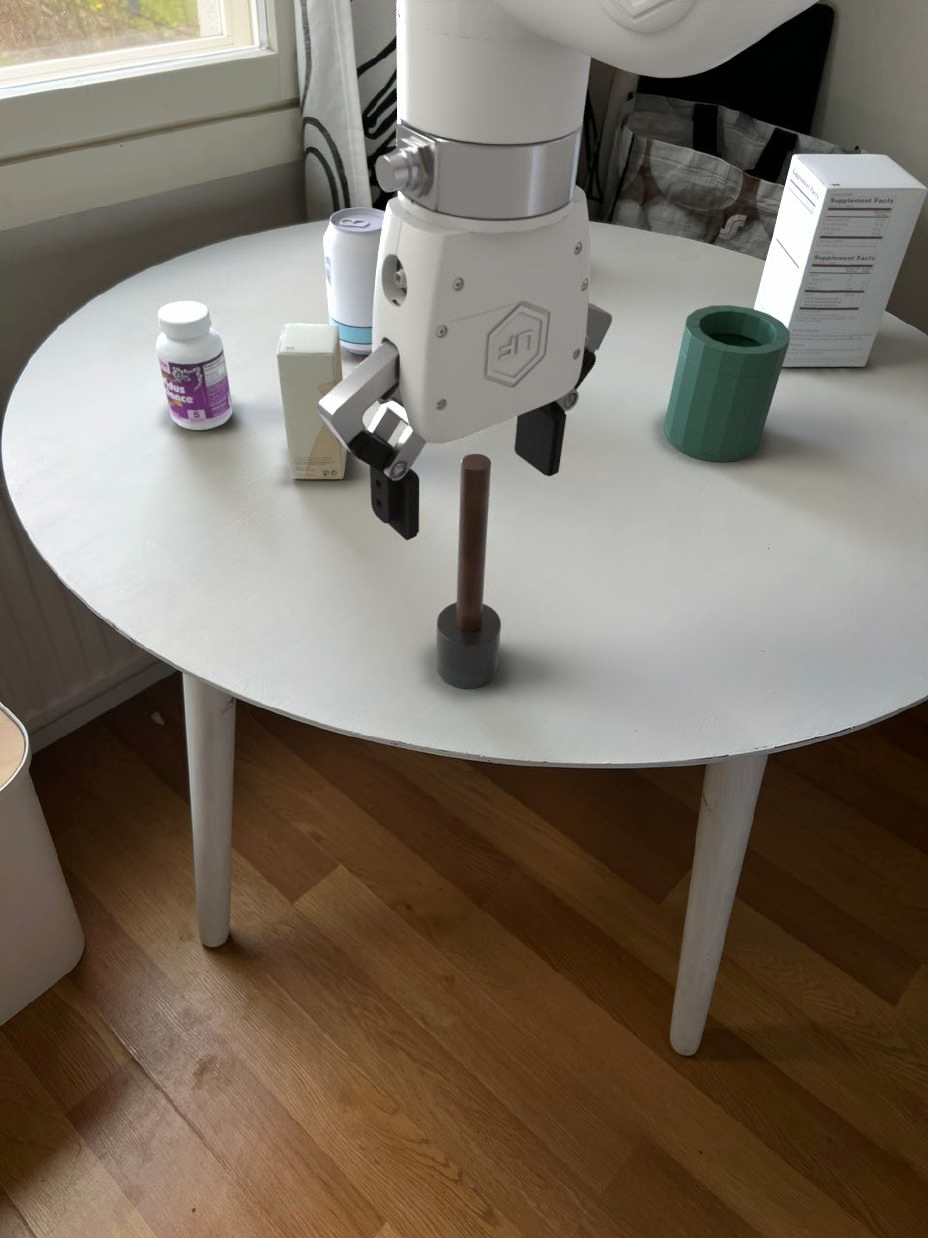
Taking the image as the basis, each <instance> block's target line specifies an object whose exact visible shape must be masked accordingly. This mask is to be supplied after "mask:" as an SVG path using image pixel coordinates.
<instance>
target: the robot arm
mask: <svg viewBox="0 0 928 1238" xmlns="http://www.w3.org/2000/svg"><path fill="white" fill-rule="evenodd" d="M819 1H820V0H396V94H397V95H396V97H397V99H396V100H397V103H396V104H397V123H396V124H395V146H396V147H395V148H394V149H393V150H392V151H391V153H388V154H383V155H380V156H378V157H377V159H376V162H375V175H376V180H377V181H378V184H379V187H380V188H381V189H382V191H384V192H385V193H392V192H397V196H395V197H393V198H391V199H388V201H387V204H386V209H385V212H386V213H385V218H384V223H383V228H382V234H381V241H380V247H379V254H378V262H377V271H376V280H375V292H374V305H373V330H372V353H371V354H370V355H367V357H365V359H364V360H362V361H361V363H359V364H358V365H357V366H356V367H355V368H353V369H352V370H351V371H350V372H349V373H348V374H347V375H346V376H345V377H343V380H342V381H341V382H339V383H338V384H337V385H336V386H335V387H334V388H333V389H332V390H331V391H330V392H328V393H327V394H326V395H325V396H324V397H323V398H322V399H321V400H320V401H319V403H318V406H317V411H318V413H319V415H320V416H321V417H322V419H323V420H324V421H325V423H326V424H327V426H328V427H329V428H330V430H331V431H332V432H333V433H334V434H335V436H336V438H337V440H338V441H339V442H340V443H341V444H342V445H343V446H344V447H345V448H347V451H348V452H350V453H351V454H352V455H353V456H354V457H356V458H357V459H358V460H359V461H362V462H363V463H365V464H367V465H368V466H369V480H370V504H371V509H372V511H373V513H374V515H375V517H376V518H377V519H379V521H380V522H382V523H383V524H388V525H389V527H391V528H392V529H393V530H394V531H395V532H396V533H397V534H398V535H400V537H402V538H403V539H404V540H405V541H410V540H412V539H414V538H416V537H417V536H418V534H419V532H420V477H419V474H418V473H417V472H416V471H415V470H413V469H412V466H413V465H414V463H415V461H416V460H417V459H418V457H419V455H420V454H421V453H422V451H423V449H424V447H425V446H426V444H427V443H429V444H435V445H438V444H439V445H441V444H447V443H451V442H454V441H457V440H460V439H463V438H467V437H468V436H471V435H474V434H476V433H478V432H481V431H483V430H486V429H488V428H491V427H494V426H495V425H498V424H501V423H503V422H506V421H509V420H511V419H514V418H516V428H515V429H516V430H515V440H514V441H515V442H514V452H515V454H516V455H517V456H518V457H520V458H521V459H522V460H524V461H525V462H526V463H528V464H529V465H530V466H532V467H533V468H534V469H536V470H537V471H538V472H540V473H541V474H542V475H544V476H546V477H549V478H550V477H553V476H554V475H558V473H559V471H560V466H561V459H562V451H563V443H564V437H565V429H566V422H567V414H566V412H568V411H571V410H572V409H574V407H575V406H576V405H577V403H578V402H579V397H580V393H579V392H578V389H579V387H580V386H581V384H583V382H584V381H585V379H586V378H587V376H588V375H589V374H590V373H591V371H592V370H593V368H594V366H595V364H596V362H597V355H596V351H599V350H600V347H601V345H602V343H603V341H604V338H605V337H606V335H607V333H608V331H609V330H610V327H611V325H612V322H613V315H612V314H611V313H610V312H608V311H606V310H604V309H602V308H600V307H599V306H597V305H595V304H593V303H590V302H589V300H590V285H591V284H590V283H591V282H590V281H591V236H590V234H591V233H590V221H589V218H590V217H589V210H588V209H589V208H588V203H587V195H586V193H585V191H584V190H583V189H582V188H581V187H580V186H579V185H577V184H576V183H577V175H578V168H579V159H580V152H581V144H582V143H581V142H582V134H583V129H584V128H583V127H584V123H583V122H584V114H585V106H586V100H587V93H588V92H587V91H588V84H589V75H590V68H591V60H592V58H593V59H595V60H597V61H599V62H602V63H604V64H607V65H609V66H612V67H615V68H617V69H620V70H623V71H626V72H629V73H631V74H632V73H633V74H636V75H641V76H647V77H652V78H659V79H662V78H663V79H665V78H666V79H674V78H683V77H684V78H685V77H689V76H695V75H697V74H702V73H705V72H707V71H709V70H712V69H714V68H717V67H719V66H720V65H722V64H724V63H726V62H728V61H730V60H732V58H734V57H735V56H737V55H739V54H741V52H743V51H744V50H745V51H746V49H748V48H749V47H751V46H752V45H754V44H756V43H758V42H759V41H761V39H763V38H764V37H766V36H767V35H768V34H769V33H771V32H772V31H773V30H775V29H776V28H778V27H780V26H781V25H783V24H784V23H786V22H788V21H789V20H791V19H793V18H795V17H796V16H798V15H799V14H801V13H802V12H804V11H806V10H807V9H809V8H811V7H812V6H813V5H815V4H816V3H818V2H819ZM376 402H377V403H378V404H379V407H378V409H377V411H376V413H375V414H374V415H373V418H372V419H371V421H370V422H369V424H368V426H367V427H366V425H365V424H364V420H363V417H364V415H365V413H366V412H367V411H368V409H370V408H371V407H372V406H373V405H374V404H375V403H376ZM401 421H402V422H403V423H404V424H405V425H406V427H405V428H404V430H403V432H402V433H401V435H400V437H399V438H398V440H397V441H396V443H395V445H394V446H393V444H392V443H390V442H389V441H390V439H391V437H392V436H393V434H394V433H395V431H396V429H397V428H398V426H399V424H400V423H401Z"/></svg>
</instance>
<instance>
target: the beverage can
mask: <svg viewBox="0 0 928 1238" xmlns="http://www.w3.org/2000/svg"><path fill="white" fill-rule="evenodd" d="M385 213H386V211H384V210H381V209H377V208H373V207H361V206H358V207H349V208H344V209H340V210H338V211H336V212H334V213H332V214H331V215H330V217H329V225H328V226H327V229H326V231H325V233H324V235H323V239H322V240H323V241H322V242H323V253H324V265H325V266H324V268H325V277H326V278H325V280H326V293H327V305H328V318H329V324H333V325H339V335H340V347H342V348H344V350H346V351H348V352H349V353H351V354H355V355H361V356H369V355H370V354H371V353H372V330H373V305H374V292H375V280H376V271H377V262H378V254H379V247H380V241H381V234H382V228H383V223H384V218H385Z"/></svg>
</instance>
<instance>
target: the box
mask: <svg viewBox="0 0 928 1238" xmlns="http://www.w3.org/2000/svg"><path fill="white" fill-rule="evenodd" d="M341 349H342V348H341V346H340V335H339V325H333V324H330V323H284V324H283V327H282V330H281V333H280V336H279V341H278V346H277V351H276V360H277V361H276V362H277V371H278V378H279V380H278V381H279V386H280V387H279V388H280V396H281V404H282V412H283V417H284V418H283V420H284V426H285V427H284V429H285V435H286V441H287V442H286V443H287V451H288V460H289V467H290V474H291V475H290V476H291V479H293V480H343V479H344V477H345V472H346V471H345V470H346V463H347V456H348V449H347V448H345V447H344V446H343V445H342V444H341V443H340V442H339V441H338V440H337V438H336V436H335V434H334V433H333V432H332V431H331V430H330V428H329V427H328V426H327V424H326V423H325V421H324V420H323V419H322V417H321V416H320V415H319V413H318V411H317V406H318V403H319V401H320V400H321V399H322V398H323V397H324V396H325V395H326V394H327V393H328V392H330V391H331V390H332V389H333V388H334V387H335V386H336V385H337V384H338V383H339V382H341V381H342V380H343V379H344V377H343V365H342V364H343V363H342V353H341V351H342V350H341Z"/></svg>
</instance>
